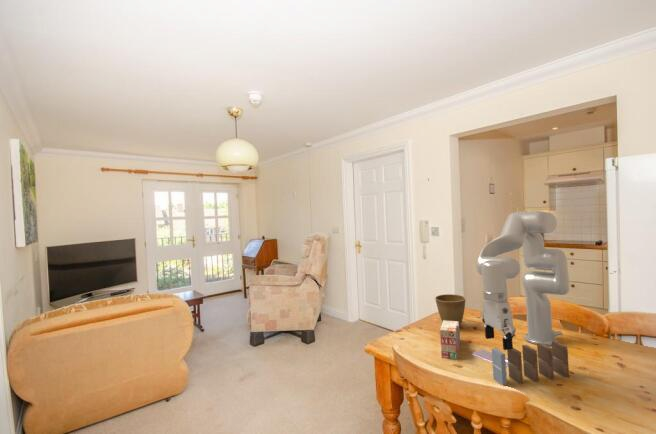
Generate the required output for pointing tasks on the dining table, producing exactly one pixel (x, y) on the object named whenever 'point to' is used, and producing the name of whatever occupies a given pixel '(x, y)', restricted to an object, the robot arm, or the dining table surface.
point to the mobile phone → (486, 356)
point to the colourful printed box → (450, 339)
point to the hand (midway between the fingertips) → (498, 343)
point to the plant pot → (451, 307)
